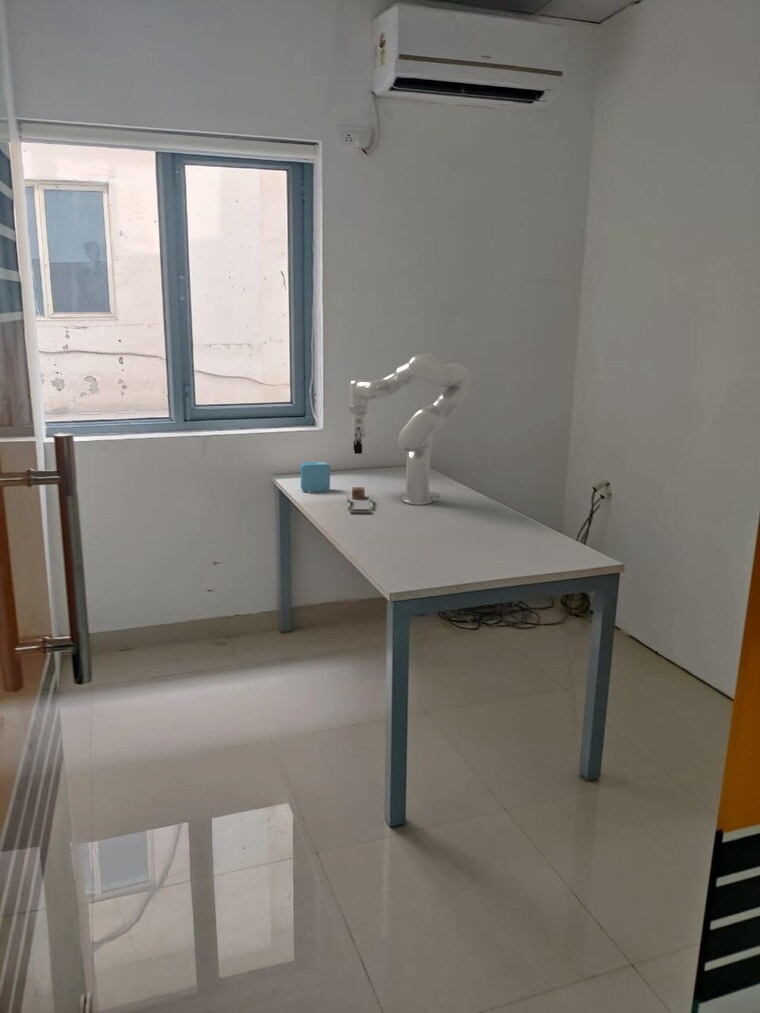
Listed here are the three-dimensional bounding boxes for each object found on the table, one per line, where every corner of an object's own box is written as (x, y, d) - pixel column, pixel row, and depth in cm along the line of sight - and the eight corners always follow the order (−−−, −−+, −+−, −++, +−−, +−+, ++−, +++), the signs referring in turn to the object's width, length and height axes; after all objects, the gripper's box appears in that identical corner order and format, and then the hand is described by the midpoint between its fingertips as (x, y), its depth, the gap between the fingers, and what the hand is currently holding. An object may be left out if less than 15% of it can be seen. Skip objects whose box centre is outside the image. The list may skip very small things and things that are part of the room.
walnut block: (363, 496, 328) (364, 487, 327) (364, 499, 323) (364, 490, 322) (351, 496, 328) (352, 487, 327) (352, 499, 323) (352, 490, 322)
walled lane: (370, 501, 320) (371, 495, 319) (371, 505, 313) (372, 499, 313) (346, 501, 319) (346, 495, 319) (347, 505, 313) (347, 499, 312)
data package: (328, 488, 339) (328, 461, 336) (329, 491, 335) (330, 464, 332) (300, 490, 337) (300, 462, 333) (302, 492, 332) (302, 464, 329)
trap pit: (370, 511, 305) (370, 509, 304) (371, 514, 301) (371, 511, 300) (350, 511, 304) (350, 509, 304) (350, 514, 300) (350, 511, 300)
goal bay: (372, 506, 312) (372, 502, 312) (372, 510, 307) (373, 506, 306) (347, 506, 312) (347, 502, 311) (347, 510, 306) (347, 506, 306)
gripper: (368, 412, 317) (367, 455, 322) (366, 407, 334) (365, 448, 338) (350, 412, 316) (349, 455, 321) (348, 406, 333) (348, 447, 338)
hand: (357, 451), depth 330 cm, fingers open, 7 cm apart
